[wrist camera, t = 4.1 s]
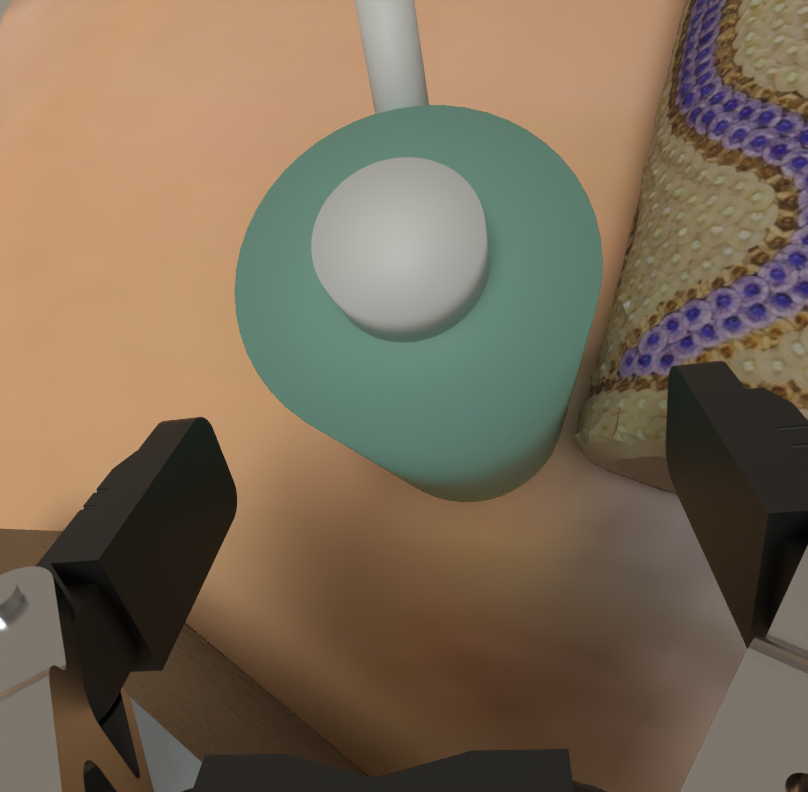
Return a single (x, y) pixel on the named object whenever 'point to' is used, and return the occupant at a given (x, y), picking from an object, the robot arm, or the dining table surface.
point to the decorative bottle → (712, 232)
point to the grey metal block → (194, 700)
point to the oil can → (423, 282)
